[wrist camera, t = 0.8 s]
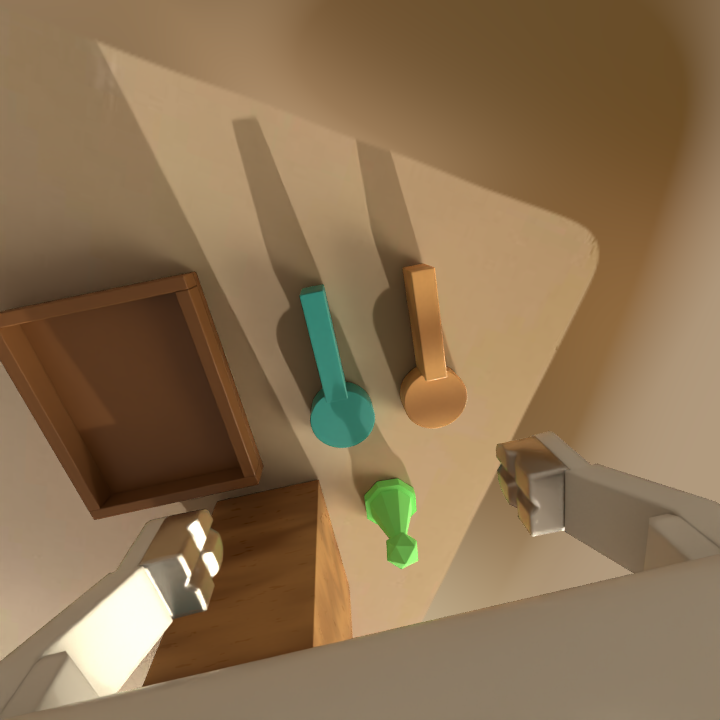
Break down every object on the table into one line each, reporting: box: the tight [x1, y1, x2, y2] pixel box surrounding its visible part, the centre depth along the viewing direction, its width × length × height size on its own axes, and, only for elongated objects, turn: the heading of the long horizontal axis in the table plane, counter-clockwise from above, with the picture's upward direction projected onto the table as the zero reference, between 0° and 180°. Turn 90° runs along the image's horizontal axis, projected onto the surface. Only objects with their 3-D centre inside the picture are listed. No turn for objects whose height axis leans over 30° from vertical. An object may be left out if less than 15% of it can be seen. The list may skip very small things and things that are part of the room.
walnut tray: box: [0, 272, 263, 520], centre depth 23 cm, size 15×12×2 cm
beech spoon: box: [400, 264, 467, 428], centre depth 24 cm, size 11×4×3 cm, turn 11°
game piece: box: [364, 478, 418, 569], centre depth 26 cm, size 4×4×6 cm
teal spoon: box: [299, 284, 375, 448], centre depth 23 cm, size 11×4×3 cm, turn 11°
